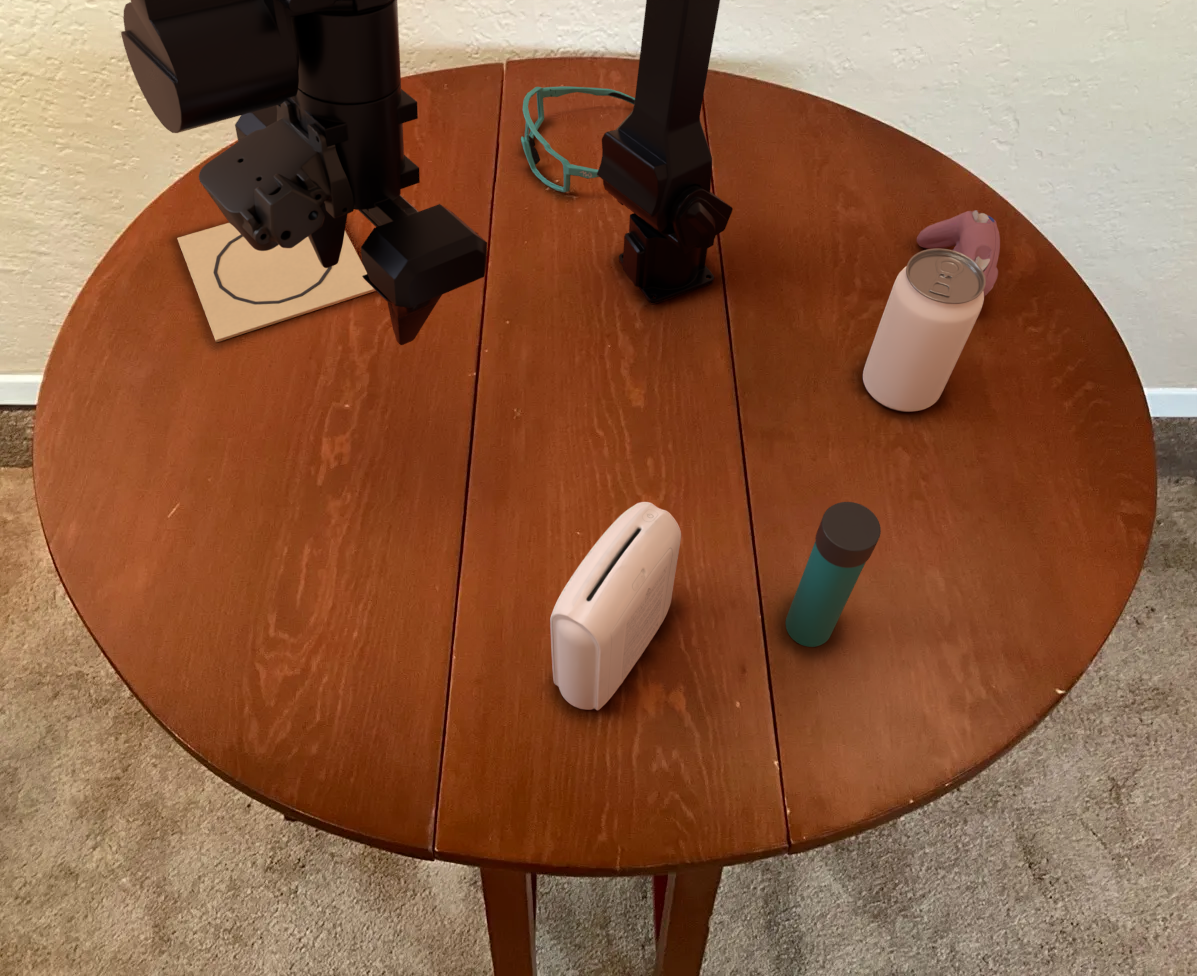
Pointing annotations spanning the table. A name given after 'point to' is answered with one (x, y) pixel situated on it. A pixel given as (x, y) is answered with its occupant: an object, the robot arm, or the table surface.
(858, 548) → the water bottle
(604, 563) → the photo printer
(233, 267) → the sketch sheet
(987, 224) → the video game controller
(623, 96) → the sunglasses
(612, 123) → the table surface
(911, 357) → the can
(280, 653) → the table surface
